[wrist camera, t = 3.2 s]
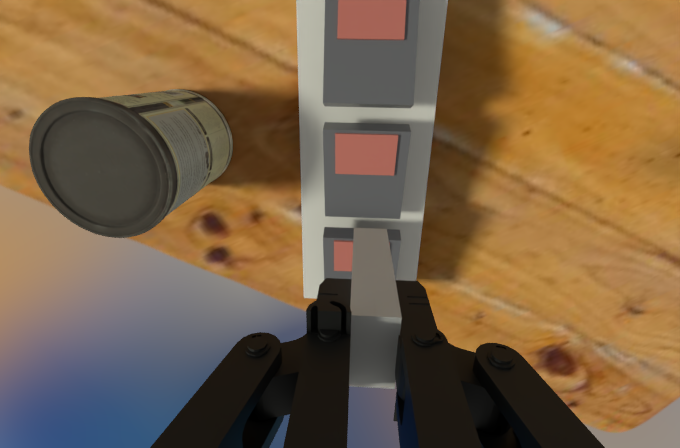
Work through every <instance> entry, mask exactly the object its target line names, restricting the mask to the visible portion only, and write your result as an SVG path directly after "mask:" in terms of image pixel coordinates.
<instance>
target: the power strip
mask: <svg viewBox="0 0 680 448" xmlns="http://www.w3.org/2000/svg"><path fill="white" fill-rule="evenodd" d="M296 3H297V44H298V84H299V124H300V164H301V205H302V245H303V285H304V298H317V295H318V290H319V285H320V284H321V283H322V282H323V281H324V256H323V234H324V227H340V228H375V229H394V230H400V235H401V246H400V253H399V261H398V268H397V276H396V280H405V281H416V277H417V268H418V259H419V251H420V242H421V233H422V224H423V215H424V207H425V198H426V189H427V180H428V172H429V163H430V154H431V145H432V136H433V128H434V119H435V110H436V101H437V92H438V84H439V75H440V66H441V57H442V49H443V40H444V31H445V22H446V13H447V5H448V0H420V3H419V20H418V38H417V55H416V72H415V89H414V105H413V106H412V107H411V108H374V107H330V106H324V104H323V73H324V26H325V0H296ZM325 122H340V123H381V124H409V125H410V129H411V137H410V145H409V153H408V161H407V168H406V176H405V184H404V192H403V200H402V208H401V216H400V219H386V218H357V217H329V216H325V195H324V155H323V127H324V123H325Z"/></svg>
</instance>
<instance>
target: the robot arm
mask: <svg viewBox="0 0 680 448" xmlns="http://www.w3.org/2000/svg"><path fill="white" fill-rule="evenodd" d="M306 315H307V334H305V335H304V336H303V337H301V338H299V339H297V340H293V341H289V342H284V343H280V340H279V339H278V338H277V337H276V336H274V335H272V334H269V333H261V332H260V333H254V334H250V335H248V336H246V337H243V338H242V339H241V340H240V341H239V342H237V344H236V345H235V346H234V347H233V348H232V350H231V351H230V352H229V353H228V355H227V356H226V357H225V358H224V359H223V360H222V362H221V363H220V364H219V365H218V367H217V368H216V369H215V370H214V371H213V373H212V374H211V375H210V376H209V377H208V379H207V380H206V381H205V382H204V384H203V385H202V386H201V387H200V388H199V390H198V391H197V392H196V393H195V394H194V396H193V397H192V398H191V399H190V400H189V402H188V403H187V404H186V405H185V406H184V408H183V409H182V410H181V411H180V412H179V414H178V415H177V416H176V417H175V419H174V420H173V421H172V422H171V423H170V424H169V426H168V427H167V428H166V429H165V431H164V432H163V433H162V434H161V435H160V437H159V438H158V439H157V440H156V442H155V443H154V444H153V445H152V446H151V448H269V447H270V445H271V442H272V441H273V439H274V437H275V434H276V433H277V431H278V429H279V427H280V425H281V423H282V421H283V418H284V415H288V414H290V418H289V423H288V427H287V433H286V437H285V442H284V448H347V427H348V398H349V386H357V387H373V388H391V389H394V388H395V380H396V387H397V393H396V403H395V413H394V421H397V422H398V432H399V442H400V448H605V447H604V446H603V445H602V444H601V443H600V442H599V441H598V440H597V439H596V438H595V436H594V435H593V434H592V433H591V432H590V431H589V430H588V429H587V427H586V426H585V425H584V424H583V423H582V422H581V421H580V420H579V419H578V417H577V416H576V415H575V414H574V413H573V412H572V411H571V410H570V409H569V408H568V406H567V405H566V404H565V403H564V402H563V401H562V400H561V399H560V398H559V396H558V395H557V394H556V393H555V392H554V391H553V390H552V389H551V388H550V386H549V385H548V384H547V383H546V382H545V381H544V380H543V379H542V378H541V377H540V375H539V374H538V373H537V372H536V371H535V370H534V369H533V368H532V367H531V365H530V364H529V363H528V362H527V361H526V360H525V359H524V358H523V357H522V356H521V355H520V354H519V353H518V352H517V351H515V350H514V349H512V348H510V347H508V346H505V345H502V344H498V343H486V344H482V345H480V346H479V347H478V348H477V349H476V353H475V352H471V351H467V350H464V349H461V348H458V347H455V346H453V345H451V344H449V343H448V341H447V339H446V337H445V335H444V334H443V333H442V332H440V331H439V330H438V329H437V326H436V323H435V320H434V316H433V313H432V310H431V307H430V303H429V300H428V297H427V293H426V290H425V288H424V287H423V286H422V285H421V284H420V283H419V282H418V281H405V280H395V275H394V269H393V263H392V257H391V251H390V245H389V240H388V234H387V229H375V228H354V236H353V258H352V279H338V278H326V279H325V280H324V281H323V282H322V283H321V284H320V285H319V290H318V295H317V301H314V302H313V303H312V304H310V305H309V306H308V308H307V310H306Z"/></svg>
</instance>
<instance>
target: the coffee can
mask: <svg viewBox="0 0 680 448" xmlns="http://www.w3.org/2000/svg"><path fill="white" fill-rule="evenodd" d="M232 152H233V140H232V134H231V131H230V128H229V125H228V123H227V121H226V119H225V117H224V115H223V114H222V113H221V112H220V111H219V109H218V108H217V107H216V106H215V105H214V104H213V103H212V102H211V101H209V100H208V99H206V98H205V97H203V96H201V95H200V94H197V93H195V92H193V91H188V90H182V89H173V90H167V91H162V92H151V93H142V94H132V95H122V96H112V97H102V98H93V97H76V98H70V99H65V100H62V101H59V102H57V103H55V104H53V105H52V106H50V107H49V108H48V109H46V110H45V111H44V112H43V113H42V114H41V115H40V117H39V118H38V119H37V121H36V123H35V124H34V126H33V129H32V131H31V135H30V143H29V155H30V162H31V167H32V171H33V174H34V177H35V179H36V181H37V183H38V185H39V187H40V189H41V190H42V192H43V193H44V195H45V196H46V198H47V199H48V200H49V201H50V203H51V204H52V205H53V206H54V207H55V208H56V209H57V210H58V211H59V212H60V213H61V214H62V215H63V216H64V217H66V218H67V219H69V220H70V221H71V222H73V223H74V224H76V225H78V226H79V227H81V228H83V229H86V230H88V231H90V232H92V233H95V234H98V235H102V236H107V237H115V238H116V237H117V238H125V237H132V236H137V235H140V234H142V233H145V232H147V231H149V230H150V229H152V228H153V227H155V226H156V225H157V224H158V223H160V222H161V221H162V220H163V219H164V217H165V216H167V215H168V214H169V213H171V212H172V211H173V210H174V209H176V208H177V207H178V206H180V205H181V204H182V203H184V202H185V201H186V200H188V199H189V198H190V197H192V196H193V195H194V194H196V193H197V192H198V191H200V190H201V189H202V188H204V187H205V186H206V185H208V184H209V183H210V182H212V181H214V180H215V179H217V178H218V177H219V176H220V175H222V173H223V172H224V171H225V170H226V168H227V166H228V165H229V162H230V160H231V157H232Z"/></svg>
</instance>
